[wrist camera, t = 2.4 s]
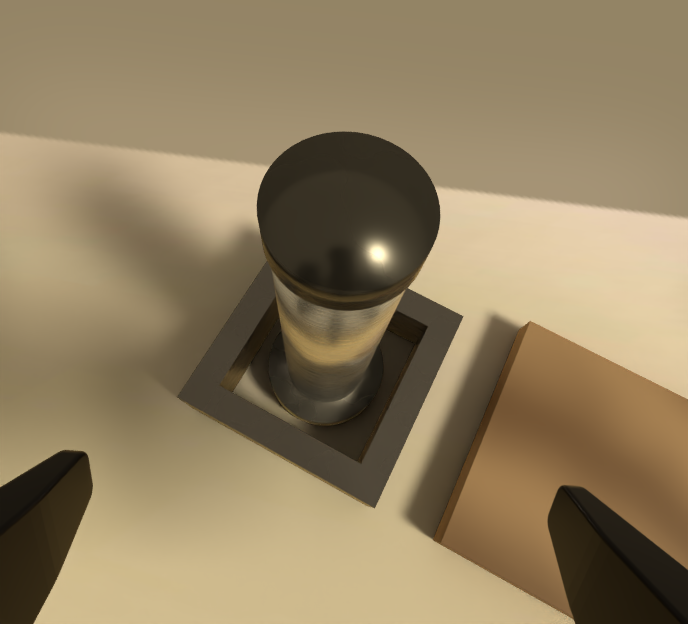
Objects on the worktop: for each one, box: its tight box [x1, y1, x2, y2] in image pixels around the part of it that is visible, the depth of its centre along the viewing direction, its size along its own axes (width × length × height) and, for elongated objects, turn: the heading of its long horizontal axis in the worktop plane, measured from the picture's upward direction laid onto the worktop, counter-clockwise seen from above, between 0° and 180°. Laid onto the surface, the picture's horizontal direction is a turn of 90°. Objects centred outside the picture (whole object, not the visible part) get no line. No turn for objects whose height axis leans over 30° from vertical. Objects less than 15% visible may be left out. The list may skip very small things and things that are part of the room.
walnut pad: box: [433, 321, 688, 618], centre depth 20 cm, size 10×10×1 cm
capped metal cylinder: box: [257, 132, 440, 426], centre depth 15 cm, size 5×5×13 cm
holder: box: [178, 262, 463, 508], centre depth 20 cm, size 8×8×2 cm
